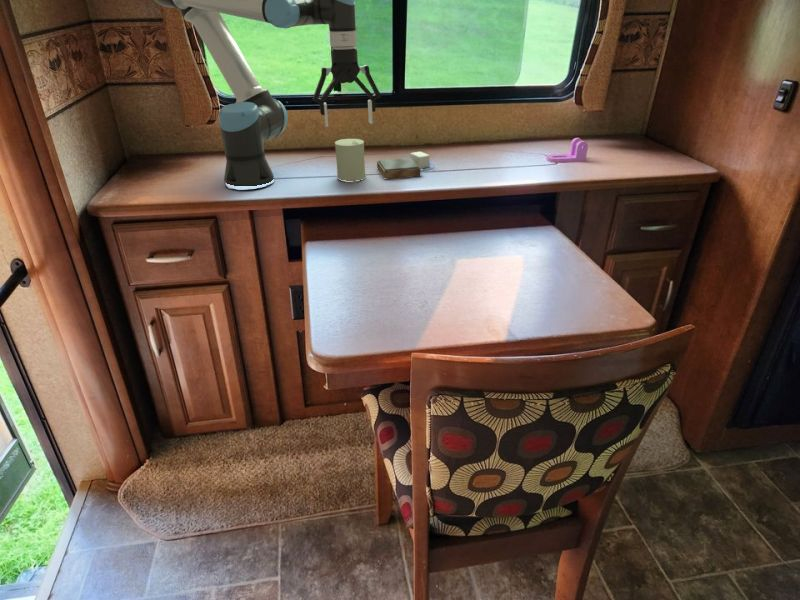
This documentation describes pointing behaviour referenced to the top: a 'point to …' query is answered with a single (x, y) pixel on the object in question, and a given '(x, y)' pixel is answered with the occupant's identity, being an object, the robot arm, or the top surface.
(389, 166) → the stand
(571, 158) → the bracket
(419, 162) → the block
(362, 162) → the can
